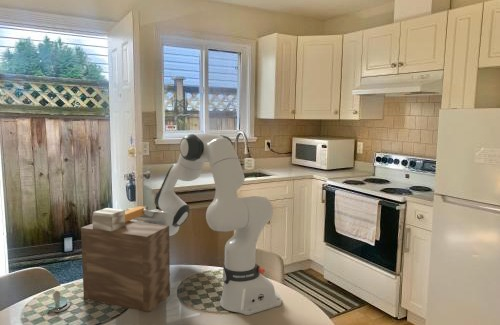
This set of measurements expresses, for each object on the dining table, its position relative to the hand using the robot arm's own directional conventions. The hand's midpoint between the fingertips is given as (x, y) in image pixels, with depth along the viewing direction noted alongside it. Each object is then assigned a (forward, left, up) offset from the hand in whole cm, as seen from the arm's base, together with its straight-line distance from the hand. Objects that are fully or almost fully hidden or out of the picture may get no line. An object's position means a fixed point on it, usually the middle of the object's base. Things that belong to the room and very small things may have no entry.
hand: (138, 210), depth 156 cm
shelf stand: (+5, +14, -29) cm, 33 cm away
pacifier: (+28, +16, -29) cm, 44 cm away
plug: (+3, +4, -2) cm, 6 cm away
